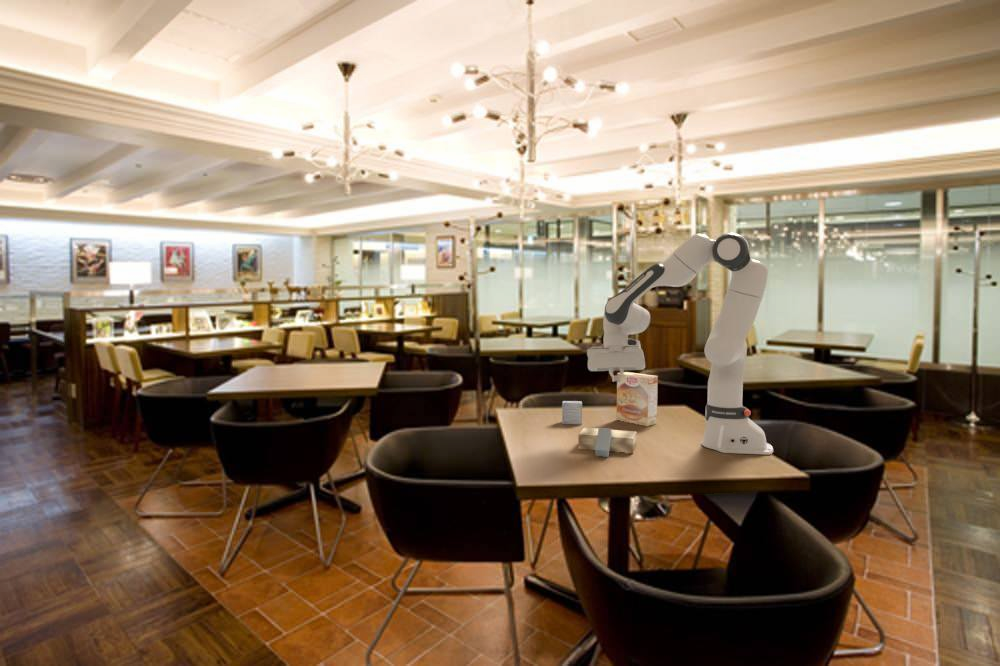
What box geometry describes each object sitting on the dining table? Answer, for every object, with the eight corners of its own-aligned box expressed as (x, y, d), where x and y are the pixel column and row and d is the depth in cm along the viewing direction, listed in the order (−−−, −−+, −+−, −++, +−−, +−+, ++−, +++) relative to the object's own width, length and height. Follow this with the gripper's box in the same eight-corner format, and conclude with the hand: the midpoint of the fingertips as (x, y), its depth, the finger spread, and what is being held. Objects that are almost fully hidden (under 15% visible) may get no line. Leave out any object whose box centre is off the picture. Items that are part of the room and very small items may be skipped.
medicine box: (581, 422, 232) (581, 401, 232) (582, 424, 228) (582, 403, 227) (561, 421, 233) (562, 400, 232) (562, 424, 229) (562, 402, 228)
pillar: (611, 428, 187) (607, 450, 181) (611, 435, 190) (608, 457, 183) (598, 427, 189) (594, 449, 182) (599, 434, 191) (595, 456, 185)
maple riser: (636, 446, 197) (636, 431, 196) (633, 453, 187) (633, 438, 187) (584, 441, 203) (584, 427, 202) (578, 448, 193) (578, 434, 193)
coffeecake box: (615, 420, 236) (616, 373, 235) (625, 417, 241) (626, 371, 239) (647, 426, 225) (648, 377, 223) (657, 423, 230) (658, 375, 228)
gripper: (586, 343, 209) (586, 378, 203) (644, 340, 205) (645, 376, 198) (587, 350, 215) (587, 385, 209) (644, 348, 210) (646, 383, 204)
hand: (616, 381), depth 203 cm, fingers closed
